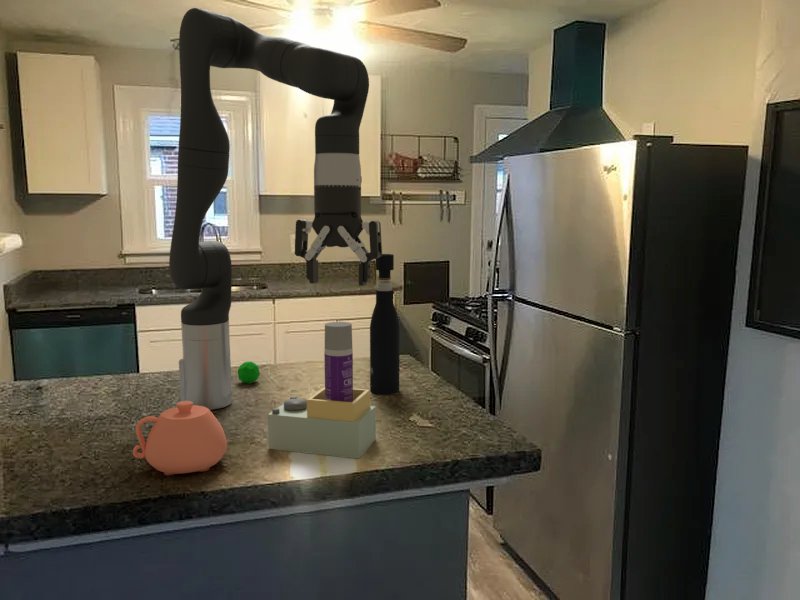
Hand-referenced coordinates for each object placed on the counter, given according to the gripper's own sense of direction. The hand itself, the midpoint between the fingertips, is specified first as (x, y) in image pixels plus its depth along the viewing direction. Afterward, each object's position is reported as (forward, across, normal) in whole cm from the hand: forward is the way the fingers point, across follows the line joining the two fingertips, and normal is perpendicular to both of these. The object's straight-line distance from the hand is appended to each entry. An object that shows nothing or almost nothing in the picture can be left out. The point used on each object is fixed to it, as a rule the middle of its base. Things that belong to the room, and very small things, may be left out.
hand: (338, 284), depth 106 cm
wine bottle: (+28, -2, +34) cm, 44 cm away
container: (+22, 0, 0) cm, 22 cm away
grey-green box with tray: (+28, -3, 0) cm, 28 cm away
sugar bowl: (+28, -21, -14) cm, 38 cm away
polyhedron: (+28, -34, +32) cm, 54 cm away
